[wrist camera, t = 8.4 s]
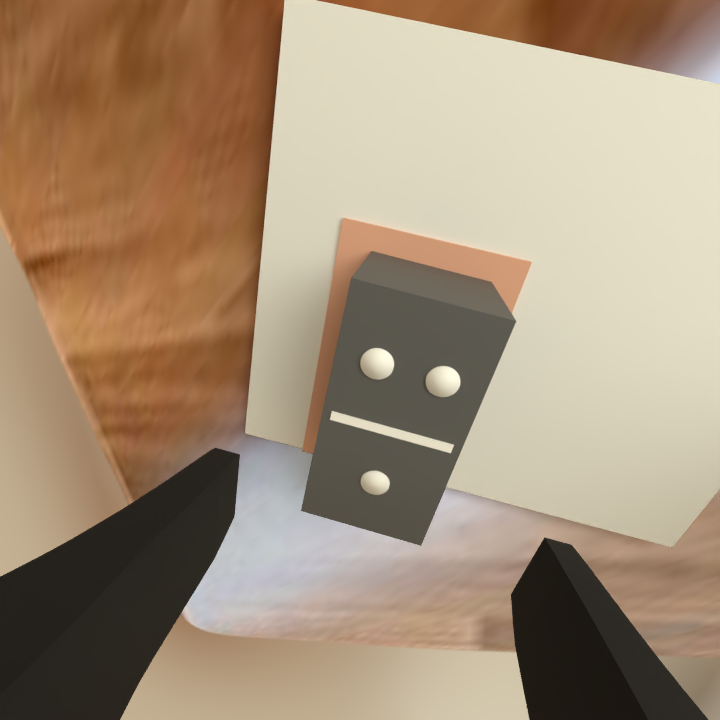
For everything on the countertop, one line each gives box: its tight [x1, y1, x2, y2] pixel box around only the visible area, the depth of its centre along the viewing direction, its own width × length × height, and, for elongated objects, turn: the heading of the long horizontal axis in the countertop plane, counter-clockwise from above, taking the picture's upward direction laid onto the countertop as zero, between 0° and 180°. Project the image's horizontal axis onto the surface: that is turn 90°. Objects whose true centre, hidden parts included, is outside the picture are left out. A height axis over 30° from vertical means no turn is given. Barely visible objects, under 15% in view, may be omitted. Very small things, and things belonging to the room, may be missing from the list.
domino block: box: [301, 251, 516, 545], centre depth 15 cm, size 9×5×5 cm, turn 168°
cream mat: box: [245, 0, 720, 547], centre depth 16 cm, size 21×17×1 cm
